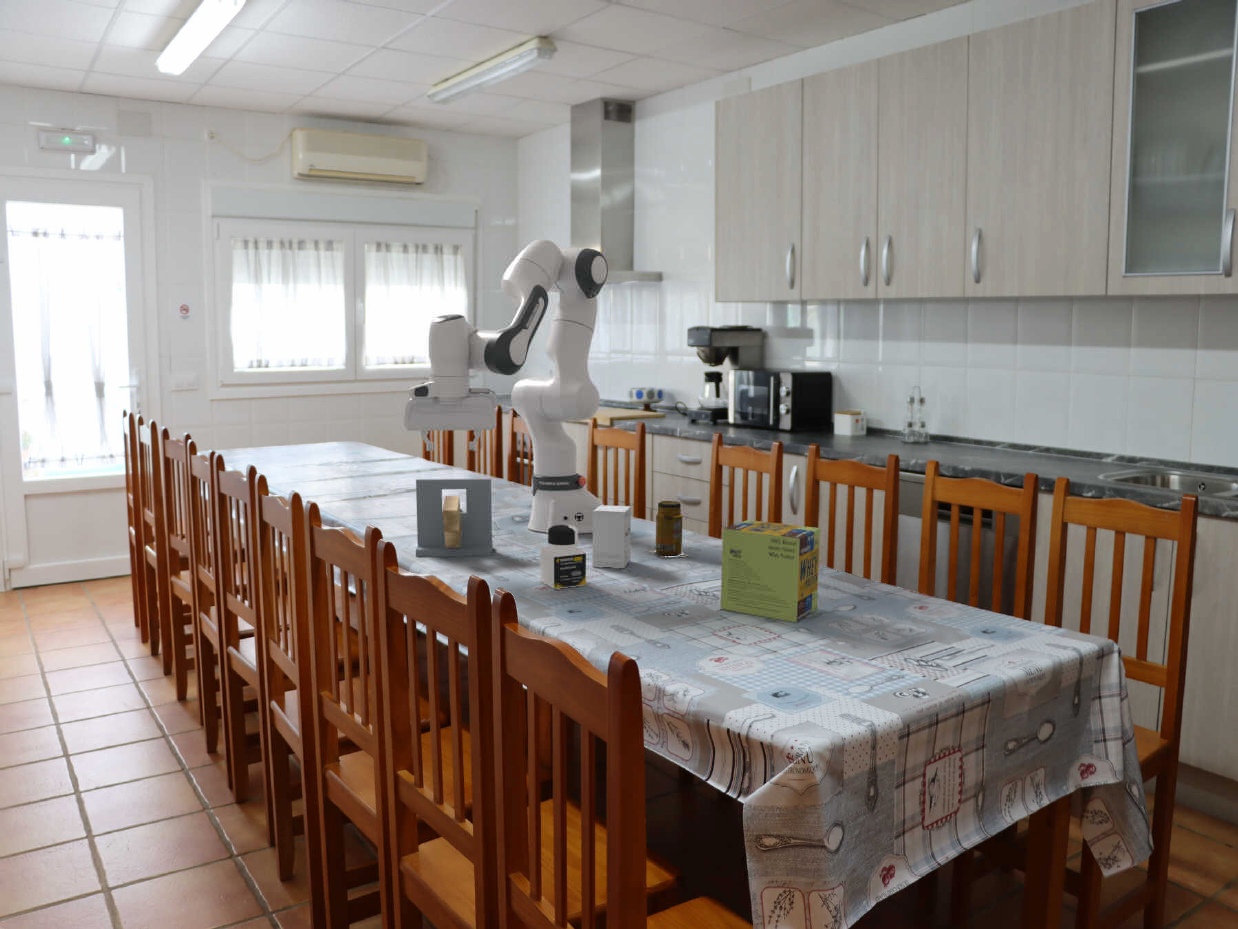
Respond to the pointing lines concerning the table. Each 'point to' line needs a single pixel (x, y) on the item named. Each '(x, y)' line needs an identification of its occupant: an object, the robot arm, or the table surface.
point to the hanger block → (452, 521)
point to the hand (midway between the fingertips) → (451, 450)
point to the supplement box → (611, 536)
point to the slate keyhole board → (472, 521)
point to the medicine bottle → (563, 558)
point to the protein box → (770, 569)
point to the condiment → (668, 530)
